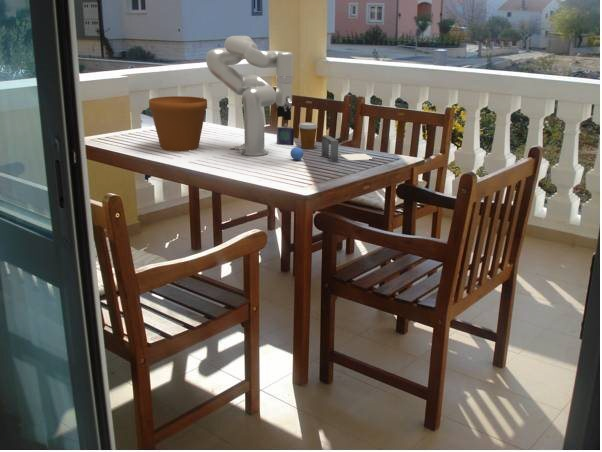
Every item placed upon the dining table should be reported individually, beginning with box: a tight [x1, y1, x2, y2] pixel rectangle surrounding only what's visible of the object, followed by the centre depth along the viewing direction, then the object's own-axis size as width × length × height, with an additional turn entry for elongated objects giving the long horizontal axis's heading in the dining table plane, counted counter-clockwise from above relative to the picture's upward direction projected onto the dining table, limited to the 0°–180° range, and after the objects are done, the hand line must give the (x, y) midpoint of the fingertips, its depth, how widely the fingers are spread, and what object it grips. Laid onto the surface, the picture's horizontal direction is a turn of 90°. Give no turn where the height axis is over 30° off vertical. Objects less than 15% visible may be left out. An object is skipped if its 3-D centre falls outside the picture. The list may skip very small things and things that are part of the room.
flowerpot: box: [148, 95, 208, 152], centre depth 342 cm, size 28×28×24 cm
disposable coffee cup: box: [298, 121, 318, 149], centre depth 350 cm, size 10×10×12 cm
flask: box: [276, 123, 295, 146], centre depth 357 cm, size 9×3×11 cm, turn 71°
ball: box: [290, 146, 304, 161], centre depth 322 cm, size 6×6×6 cm
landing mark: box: [339, 153, 373, 162], centre depth 331 cm, size 13×13×1 cm
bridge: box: [320, 134, 339, 163], centre depth 326 cm, size 3×15×10 cm, turn 17°
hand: (284, 118), depth 317 cm, fingers open, 9 cm apart
